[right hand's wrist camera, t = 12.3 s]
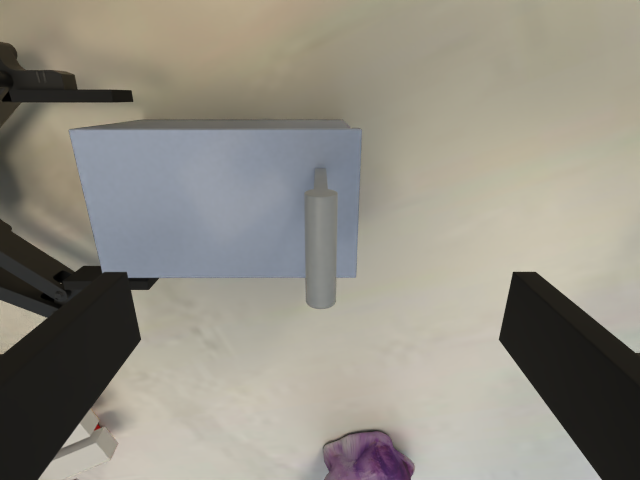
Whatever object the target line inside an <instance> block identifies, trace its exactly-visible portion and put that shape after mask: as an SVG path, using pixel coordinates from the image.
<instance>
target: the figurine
mask: <svg viewBox="0 0 640 480" xmlns="http://www.w3.org/2000/svg"><path fill="white" fill-rule="evenodd" d="M323 452H324V462H325V464H326V466H327V468H328V470H329V473H328V474H327V476H326V477H325V479H324V480H411V476H412V475H413V473H414V471H415V465H414V463H413V462H412V461H411V460H410V459H409V458H408V457H406V456H405V455H404V454H402V453H400V452H399V451H397V450H396V449H395V448H394V447H393V444H392V440H391V438H390V437H389V436H388V435H387V434H384V433H382V432H379V431H374V432H362V433H354V434H349V435H347V436H345V437H343V438H341V439H340V440H338V441H335V442H331V443H329V444H327V445H325V446H324V448H323Z"/></svg>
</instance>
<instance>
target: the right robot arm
mask: <svg viewBox="0 0 640 480" xmlns="http://www.w3.org/2000/svg"><path fill="white" fill-rule="evenodd" d="M140 340H141V337H140V332H139V327H138V322H137V318H136V313H135V308H134V303H133V299H132V294H131V289H130V284H129V280H128V275H127V272H104V273H102V274H101V275H100V276H99V277H97V278H96V279H95V280H94V281H93V282H91V283H90V284H89V285H88V286H86V287H85V288H84V289H83V290H81V291H80V292H79V293H78V294H77V295H75V296H74V297H73V298H72V299H70V300H69V301H68V302H67V303H65V304H64V305H63V306H62V307H61V308H59V309H58V310H57V311H56V312H54V313H53V314H52V315H51V316H49V317H48V318H47V319H46V320H45V321H43V322H42V323H41V324H40V325H38V326H37V327H36V328H35V329H34V330H32V331H31V332H30V333H29V334H27V335H26V336H25V337H24V338H22V339H21V340H20V341H19V342H18V343H16V344H15V345H14V346H13V347H11V348H10V349H9V350H8V351H6V352H5V353H4V354H0V480H38V479H39V478H40V476H41V475H42V474H43V472H44V471H45V469H46V468H47V467H48V465H49V464H50V463H51V461H52V460H53V459H54V457H55V456H56V455H57V453H58V452H59V450H60V449H61V448H62V446H63V445H64V444H65V442H66V441H67V440H68V438H69V437H70V436H71V434H72V433H73V431H74V430H75V429H76V427H77V426H78V425H79V423H80V422H81V421H82V419H83V418H84V417H85V415H86V414H87V412H88V411H89V410H90V408H91V407H92V406H93V404H94V403H95V402H96V400H97V399H98V397H99V396H100V395H101V393H102V392H103V391H104V389H105V388H106V387H107V385H108V384H109V383H110V381H111V380H112V378H113V377H114V376H115V374H116V373H117V372H118V370H119V369H120V368H121V366H122V365H123V364H124V362H125V361H126V359H127V358H128V357H129V355H130V354H131V353H132V351H133V350H134V349H135V347H136V346H137V345H138V343H139V342H140ZM499 340H500V342H501V343H502V345H503V346H504V347H505V349H506V350H507V351H508V353H509V354H510V355H511V357H512V358H513V359H514V361H515V362H516V364H517V365H518V366H519V368H520V369H521V370H522V372H523V373H524V374H525V376H526V377H527V378H528V380H529V381H530V383H531V384H532V385H533V387H534V388H535V389H536V391H537V392H538V393H539V395H540V396H541V397H542V399H543V400H544V402H545V403H546V404H547V406H548V407H549V408H550V410H551V411H552V412H553V414H554V415H555V417H556V418H557V419H558V421H559V422H560V423H561V425H562V426H563V427H564V429H565V430H566V431H567V433H568V434H569V436H570V437H571V438H572V440H573V441H574V442H575V444H576V445H577V446H578V448H579V449H580V450H581V452H582V453H583V455H584V456H585V457H586V459H587V460H588V461H589V463H590V464H591V465H592V467H593V468H594V469H595V471H596V472H597V474H598V475H599V476H600V478H601V479H602V480H640V353H635V352H634V351H632V350H631V349H630V348H629V347H627V346H626V345H625V344H624V343H622V342H621V341H620V340H619V339H618V338H616V337H615V336H614V335H613V334H611V333H610V332H609V331H608V330H606V329H605V328H604V327H603V326H602V325H600V324H599V323H598V322H597V321H595V320H594V319H593V318H592V317H591V316H589V315H588V314H587V313H586V312H584V311H583V310H582V309H581V308H579V307H578V306H577V305H576V304H575V303H573V302H572V301H571V300H570V299H568V298H567V297H566V296H565V295H563V294H562V293H561V292H560V291H559V290H557V289H556V288H555V287H554V286H552V285H551V284H550V283H549V282H547V281H546V280H545V279H544V278H543V277H541V276H540V275H539V274H538V273H536V272H513V275H512V280H511V284H510V289H509V294H508V299H507V303H506V308H505V313H504V318H503V322H502V327H501V332H500V337H499Z"/></svg>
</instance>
